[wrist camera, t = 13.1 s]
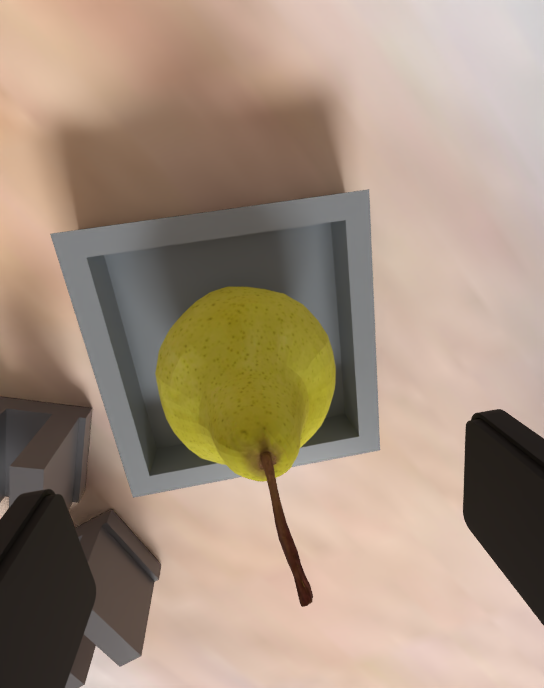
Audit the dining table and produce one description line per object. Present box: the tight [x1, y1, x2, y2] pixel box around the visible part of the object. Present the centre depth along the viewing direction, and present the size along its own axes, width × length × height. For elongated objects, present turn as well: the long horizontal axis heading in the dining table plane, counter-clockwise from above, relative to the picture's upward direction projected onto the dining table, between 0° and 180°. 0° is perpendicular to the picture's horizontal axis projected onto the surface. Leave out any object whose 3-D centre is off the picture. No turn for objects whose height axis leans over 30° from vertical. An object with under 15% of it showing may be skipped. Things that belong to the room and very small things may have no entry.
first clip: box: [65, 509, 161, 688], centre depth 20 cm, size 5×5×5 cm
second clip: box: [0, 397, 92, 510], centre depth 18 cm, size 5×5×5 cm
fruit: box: [155, 286, 336, 607], centre depth 13 cm, size 7×7×12 cm
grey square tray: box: [50, 190, 380, 498], centre depth 18 cm, size 12×12×3 cm
